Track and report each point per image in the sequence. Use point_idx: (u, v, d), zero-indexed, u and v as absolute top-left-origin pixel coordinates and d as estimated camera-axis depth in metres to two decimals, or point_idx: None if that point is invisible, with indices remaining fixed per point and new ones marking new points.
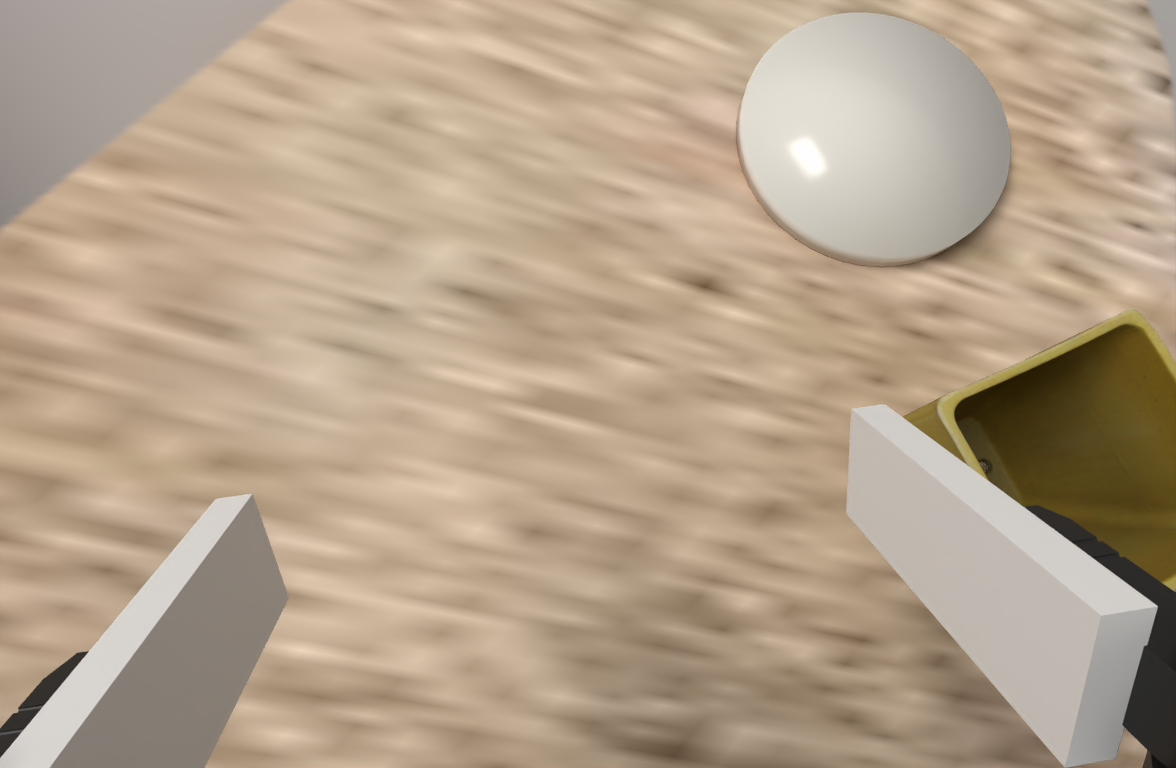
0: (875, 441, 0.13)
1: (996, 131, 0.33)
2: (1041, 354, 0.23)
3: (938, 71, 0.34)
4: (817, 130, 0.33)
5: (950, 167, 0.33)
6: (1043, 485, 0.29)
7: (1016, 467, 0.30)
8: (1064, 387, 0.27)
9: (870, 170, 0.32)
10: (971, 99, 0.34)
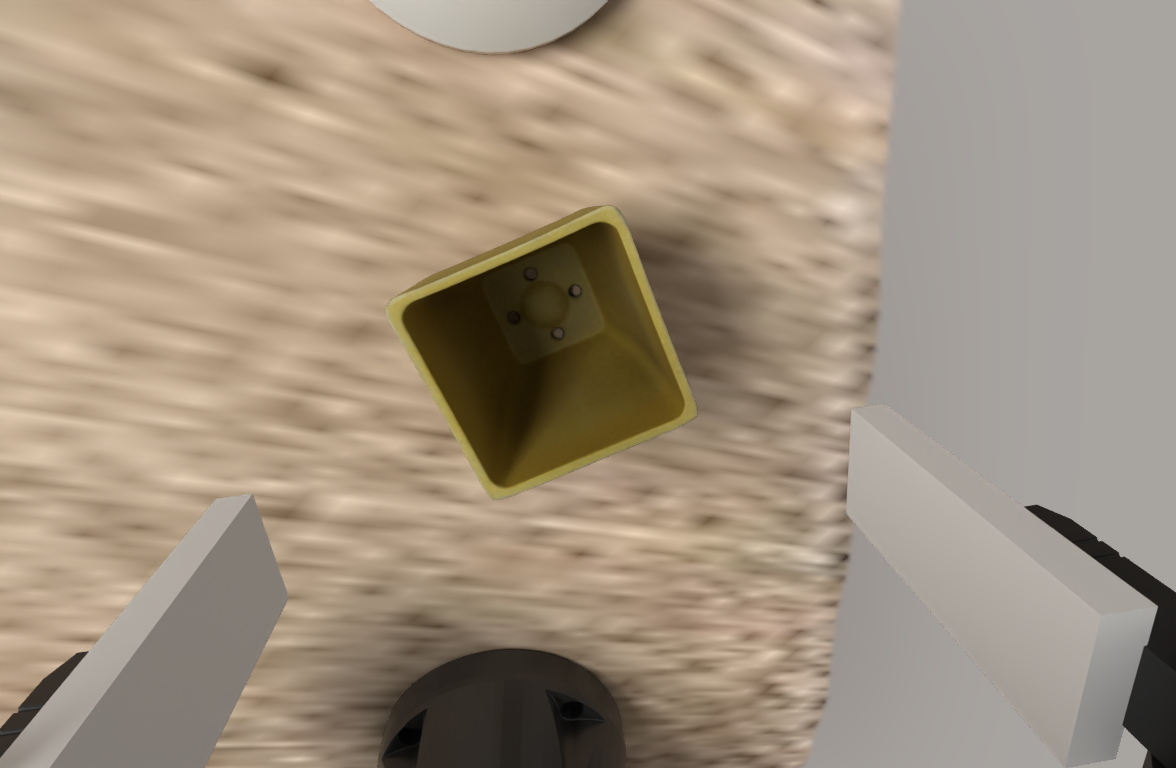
0: (875, 441, 0.13)
1: None
2: (500, 255, 0.22)
3: None
4: None
5: None
6: (615, 317, 0.30)
7: (599, 296, 0.31)
8: (607, 244, 0.26)
9: None
10: None
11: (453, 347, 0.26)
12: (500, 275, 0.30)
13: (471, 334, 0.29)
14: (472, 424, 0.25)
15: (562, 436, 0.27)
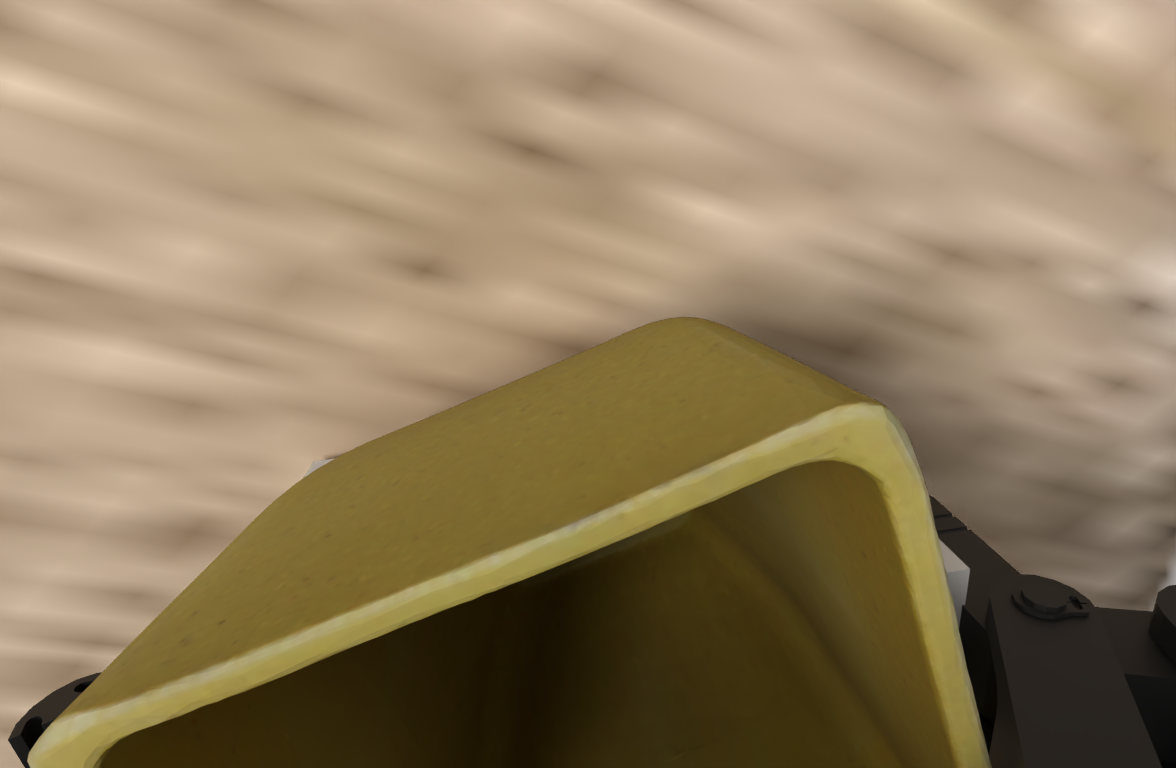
0: None
1: None
2: (442, 585, 0.06)
3: None
4: None
5: None
6: (718, 511, 0.15)
7: None
8: None
9: None
10: None
11: (351, 663, 0.11)
12: None
13: None
14: None
15: None
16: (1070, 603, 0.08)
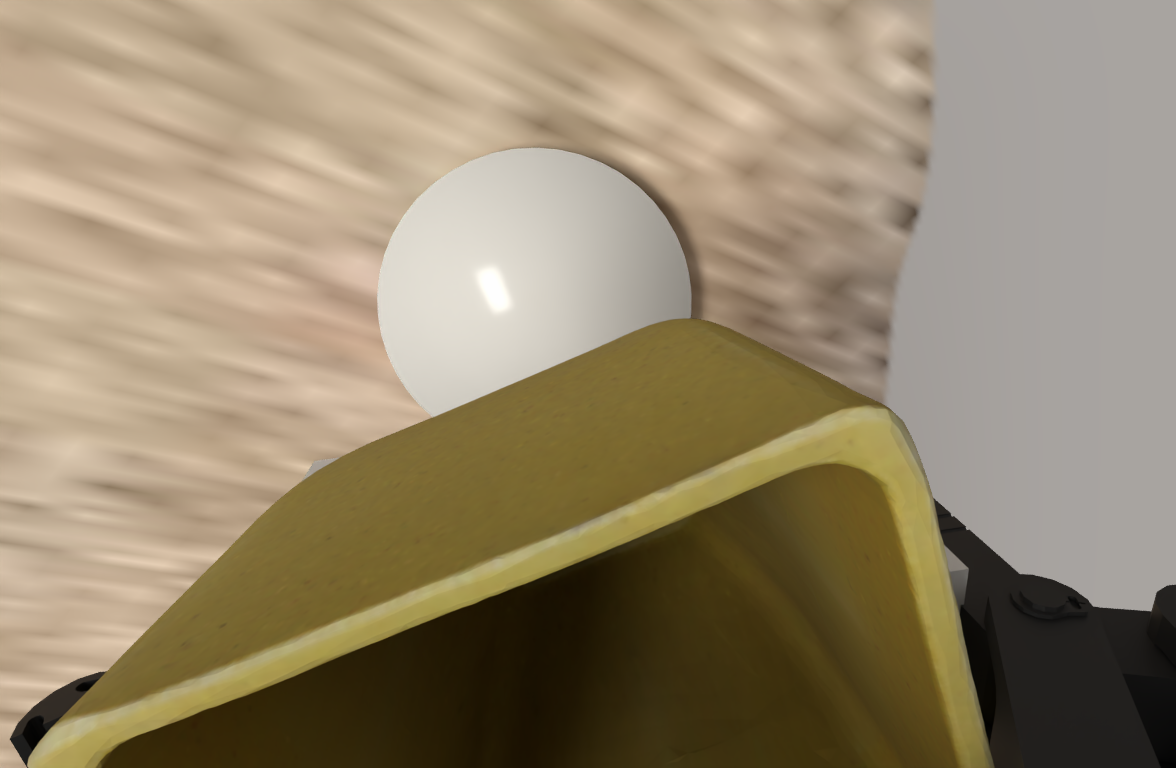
0: None
1: (676, 311, 0.29)
2: (444, 588, 0.06)
3: (621, 233, 0.28)
4: (467, 318, 0.29)
5: None
6: (719, 513, 0.14)
7: None
8: None
9: (525, 363, 0.30)
10: (655, 271, 0.29)
11: (352, 665, 0.11)
12: None
13: None
14: None
15: None
16: (1069, 603, 0.08)
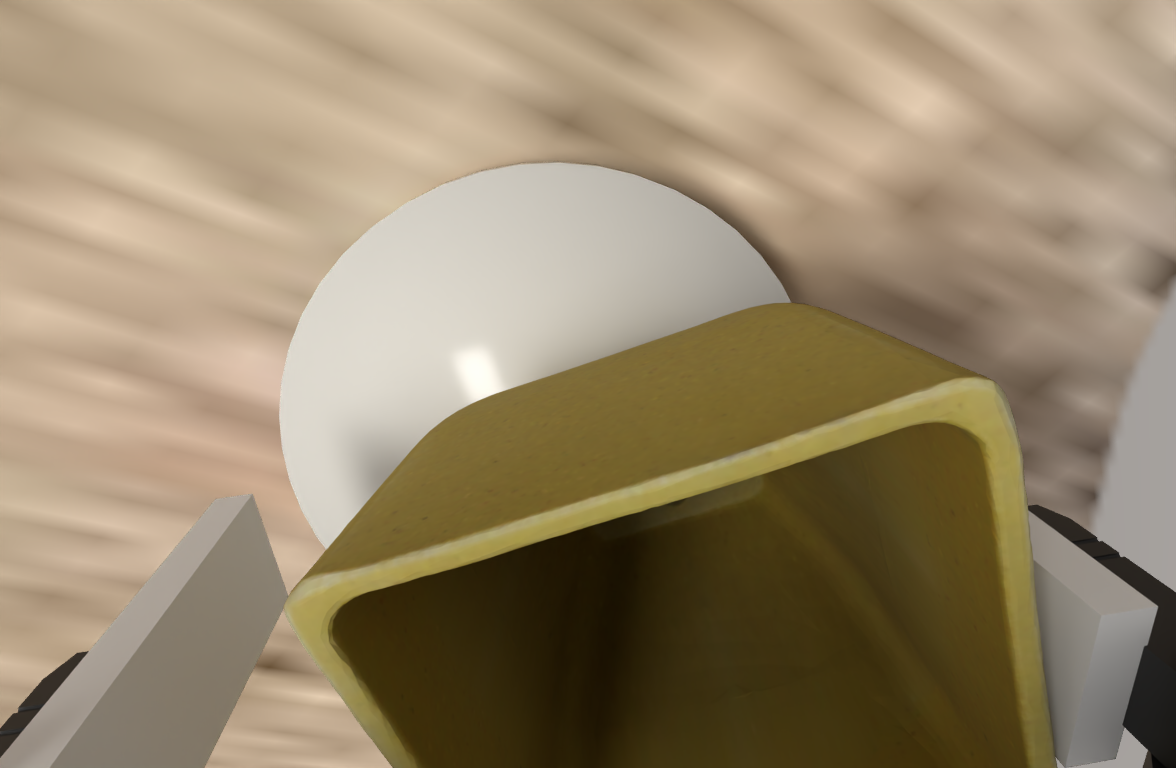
0: None
1: None
2: (619, 497, 0.07)
3: (703, 311, 0.16)
4: None
5: None
6: (792, 485, 0.16)
7: None
8: None
9: None
10: None
11: (476, 580, 0.12)
12: None
13: None
14: None
15: None
16: None
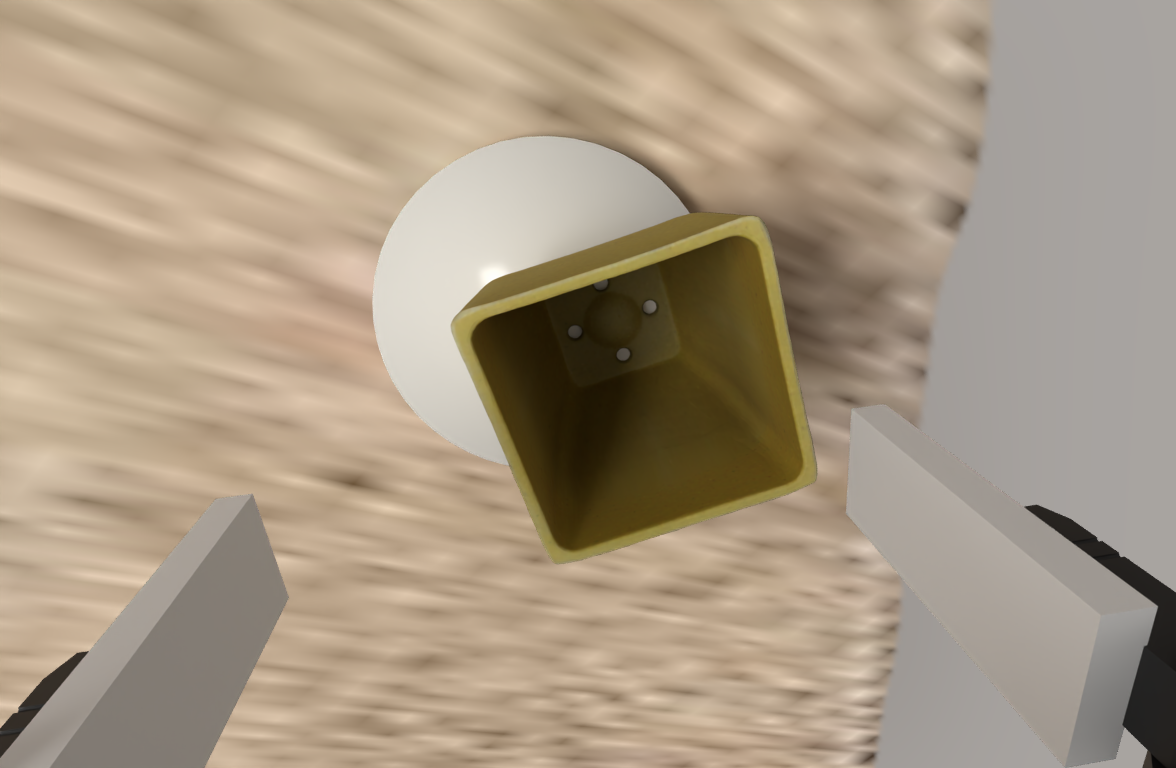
0: (875, 441, 0.13)
1: None
2: (607, 268, 0.17)
3: None
4: None
5: None
6: (697, 342, 0.26)
7: (680, 315, 0.26)
8: (714, 260, 0.21)
9: None
10: None
11: (514, 369, 0.22)
12: None
13: (530, 351, 0.24)
14: (535, 469, 0.20)
15: (638, 487, 0.22)
16: None
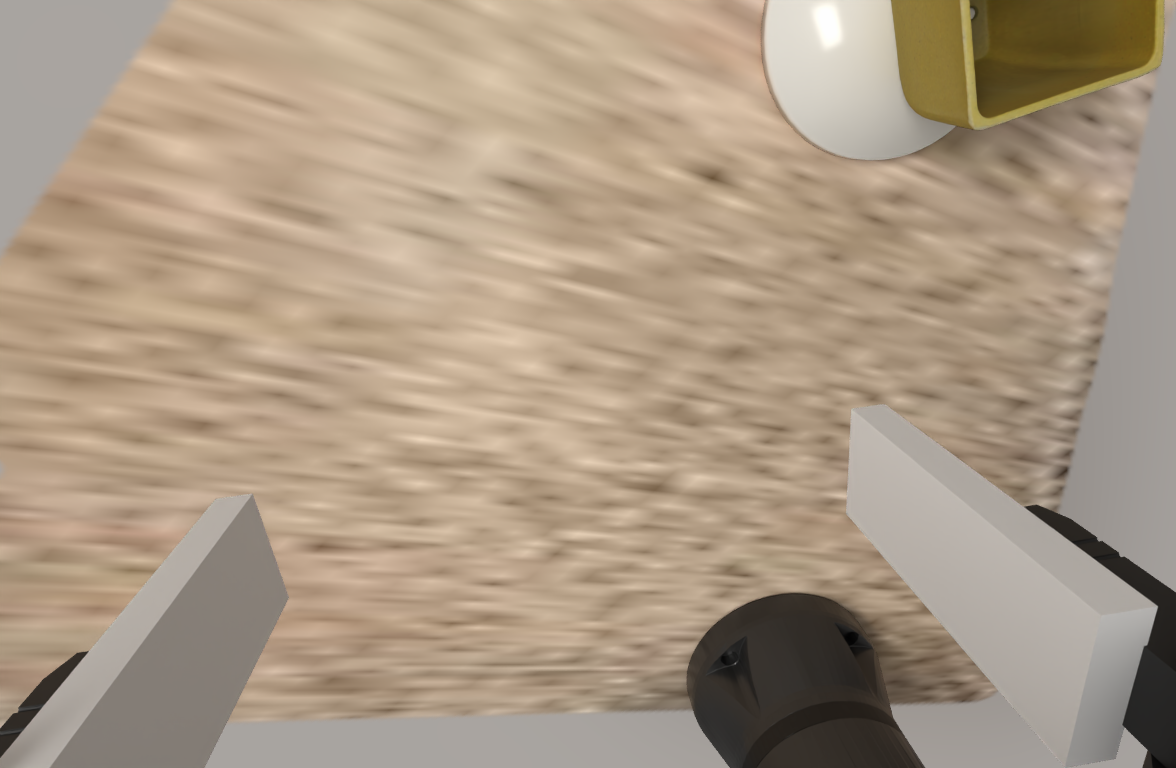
0: (875, 441, 0.13)
1: None
2: None
3: None
4: (837, 25, 0.35)
5: None
6: (1011, 35, 0.34)
7: (997, 16, 0.34)
8: None
9: (875, 71, 0.36)
10: None
11: None
12: None
13: None
14: None
15: (1008, 99, 0.30)
16: None
